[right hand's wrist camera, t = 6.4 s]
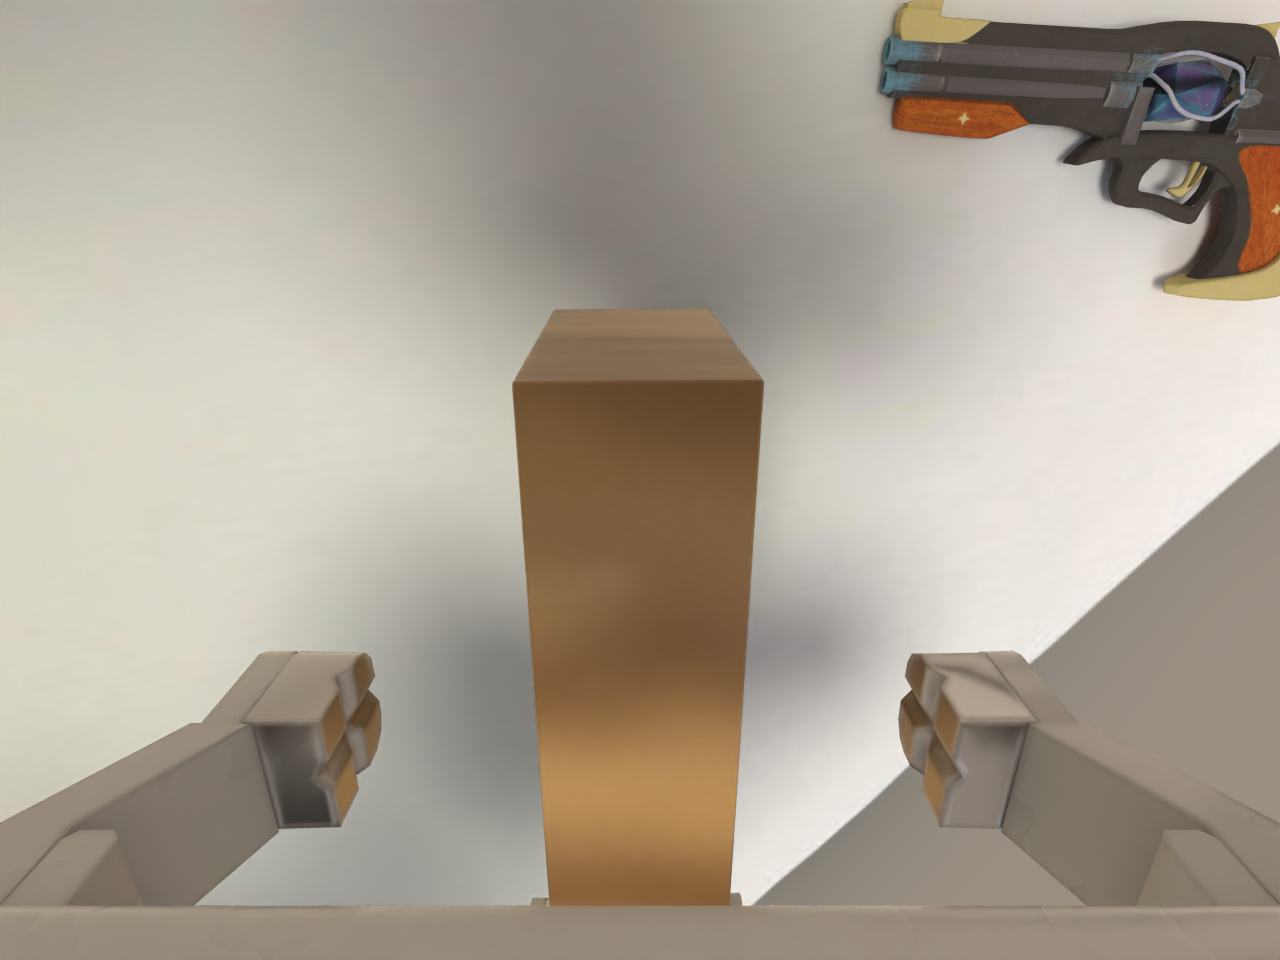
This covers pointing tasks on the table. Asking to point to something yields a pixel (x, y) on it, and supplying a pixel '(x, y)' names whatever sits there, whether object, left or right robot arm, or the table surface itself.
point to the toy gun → (1118, 116)
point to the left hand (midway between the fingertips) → (637, 906)
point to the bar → (638, 596)
